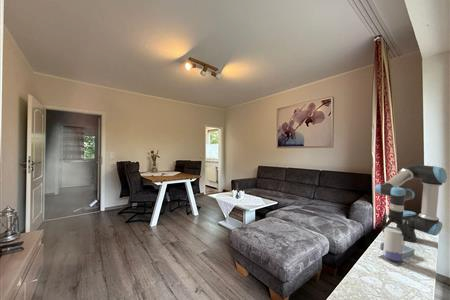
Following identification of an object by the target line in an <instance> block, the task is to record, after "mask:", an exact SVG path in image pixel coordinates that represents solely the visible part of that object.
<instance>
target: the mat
mask: <svg viewBox="0 0 450 300" xmlns="http://www.w3.org/2000/svg"><path fill="white" fill-rule="evenodd" d="M378 258H380V259H381V260H383V261H385V262H387V263H389V264H391V265H393V266H395V267H399V266H401V265H404V264H406V263H407V262H406V261H405V260H401V261H395V260H391V259H389V258H387V257H385V256H384V255H383V254H381V255H378Z"/></svg>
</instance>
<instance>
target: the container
mask: <svg viewBox="0 0 450 300" xmlns="http://www.w3.org/2000/svg"><path fill="white" fill-rule="evenodd" d="M402 235H403V234H402V232H401V230H400V229H399V228H396V227H394V226H389V225H388V226H387V227H385V238H384V237H383V239H384V240H383V242H384V249H383V250H382V252H383V253H382V255H384V256H385V257H387V258H389V259H391V260H395V261H401V260H402V253H403V251H402V250H403V245H401V239H402Z"/></svg>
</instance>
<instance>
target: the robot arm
mask: <svg viewBox="0 0 450 300" xmlns="http://www.w3.org/2000/svg"><path fill="white" fill-rule="evenodd" d="M447 176H448V175H447V171H446V169H445V168H443V167H440V166H436V165H435V166H434V165H425V164H424V165H423V164H411V165H408V166H406V167H403V168H402V169H400V170H399V171H398V173H397V174H395V175H394V176H393V177H391V178H390V179H388V180H387V181H386V182H384V183H383V184H382V183H376V184H375V185H374V192H375V193H376V194H378V195H383V196H387V197H390V198H389V207H388V214H387V213H384V214H383V218H382V220H381V222H380V224H379V227H382V232H383V235H382V236H383V239H384V238H385V227H387V226H389V225H390V224H391V223H393V224H394V223H395V224H396V227H395V228H399V229H400V230H401V232H402V234H403V235H402V239H401V245H405V243H406V242H410V243H411V242H412V243H416V242H417V240H418V238H417V235H416V232H415V230H416V231H419V232H422V233H425V234H427V235H431V236H438V235H439V234H440V233H441V231H442V228H443V223H442V222H441V221H440V218H439V217H438V216H437V215H438V213H437V212H438V206H439V205H438V202H439V191H440V186H441V187H442V185H443V184H445V183H446V182H447V179H448V177H447ZM413 179H416V180H420V183H422V184H423V185H422V186H423V187H422V197H421V209H420V211H421V212H420V213H419V214H417V213H416V212H414V211H411V210H405V202H406V201H410V200H413V199H414V198H415V196H416V194H415V191H413V190H412V189H410V188H403V187H400V186H402V185H403V184H404V183H406V182H407V181H409V180H413ZM388 218H389V219H388Z"/></svg>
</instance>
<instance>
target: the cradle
mask: <svg viewBox="0 0 450 300" xmlns="http://www.w3.org/2000/svg"><path fill="white" fill-rule="evenodd" d="M379 247H380V248H379V249H380V251H383V249H384V241H383V242H380V244H379ZM415 253H416V252H415V249H414V248H412V247H411V246H408V245H403V250H402V260H403V261H405V260H407V259H410V258H412V257H415Z"/></svg>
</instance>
